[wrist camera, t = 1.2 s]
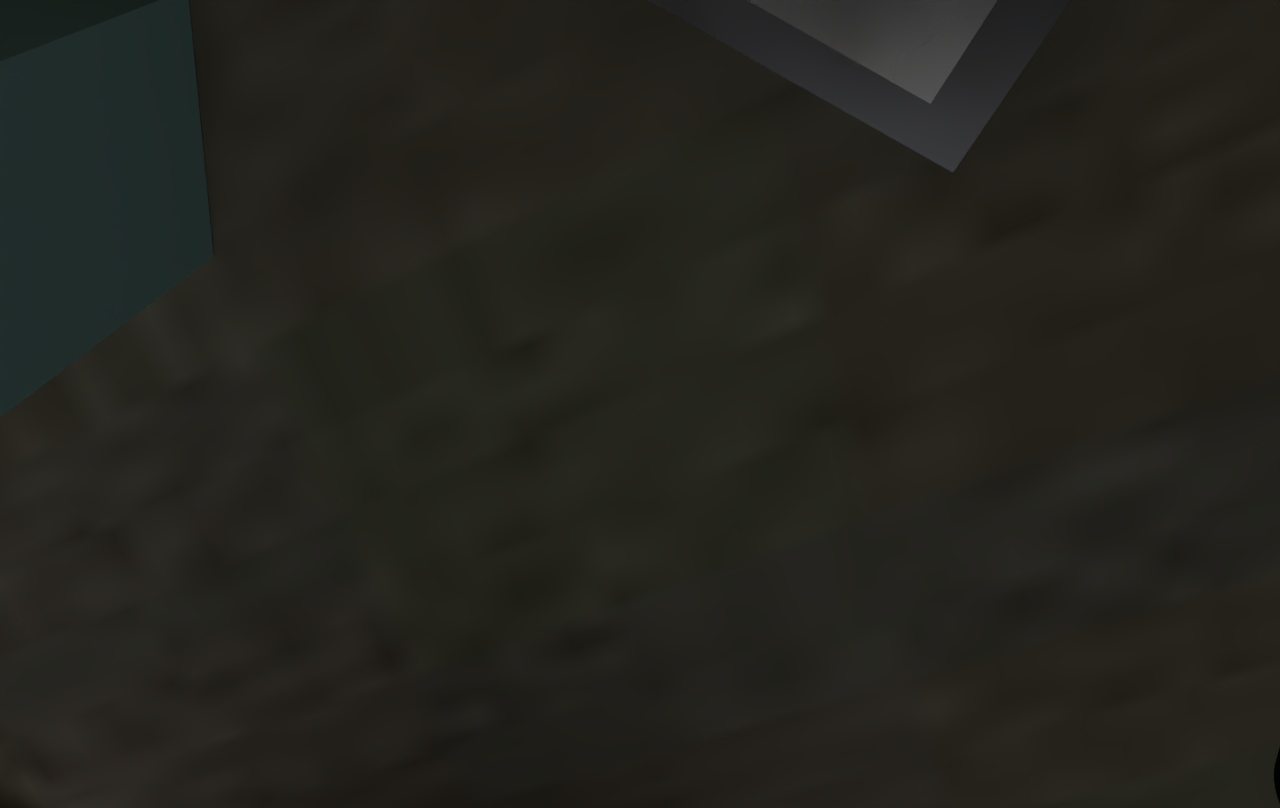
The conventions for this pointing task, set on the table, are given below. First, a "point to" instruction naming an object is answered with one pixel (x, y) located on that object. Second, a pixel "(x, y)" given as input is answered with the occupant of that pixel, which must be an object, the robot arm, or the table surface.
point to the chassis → (890, 57)
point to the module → (93, 175)
